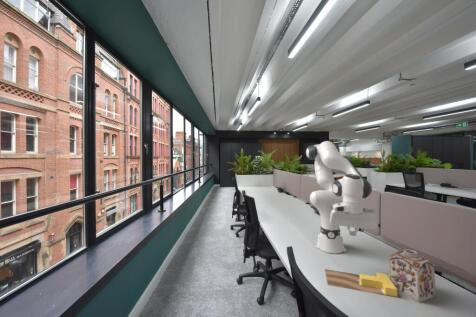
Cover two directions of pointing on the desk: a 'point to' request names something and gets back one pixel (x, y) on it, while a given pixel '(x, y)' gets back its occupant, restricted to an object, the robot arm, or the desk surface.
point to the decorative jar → (412, 274)
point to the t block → (379, 283)
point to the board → (351, 282)
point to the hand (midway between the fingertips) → (352, 235)
